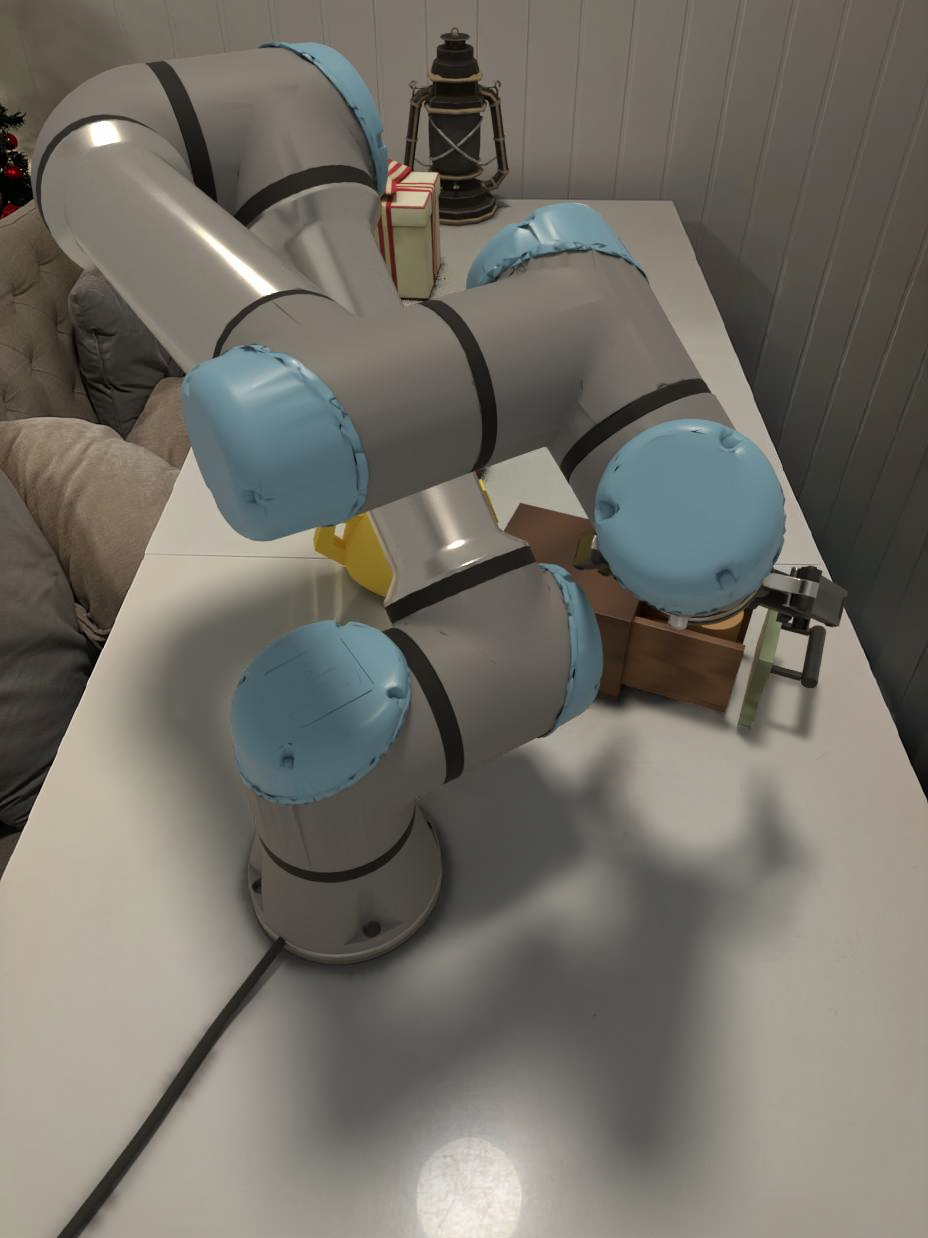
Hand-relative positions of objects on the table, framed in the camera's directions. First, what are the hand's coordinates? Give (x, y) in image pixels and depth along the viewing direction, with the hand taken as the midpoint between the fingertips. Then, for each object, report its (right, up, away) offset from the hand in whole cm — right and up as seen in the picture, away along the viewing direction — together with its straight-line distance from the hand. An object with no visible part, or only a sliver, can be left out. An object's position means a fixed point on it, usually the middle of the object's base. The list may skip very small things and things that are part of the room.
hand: (706, 587), depth 71 cm
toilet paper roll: (+4, -7, +16) cm, 18 cm away
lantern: (-20, +76, +105) cm, 131 cm away
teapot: (-24, +2, +28) cm, 38 cm away
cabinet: (-9, -4, +21) cm, 24 cm away
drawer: (+5, -8, +17) cm, 19 cm away
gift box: (-32, +54, +82) cm, 103 cm away
